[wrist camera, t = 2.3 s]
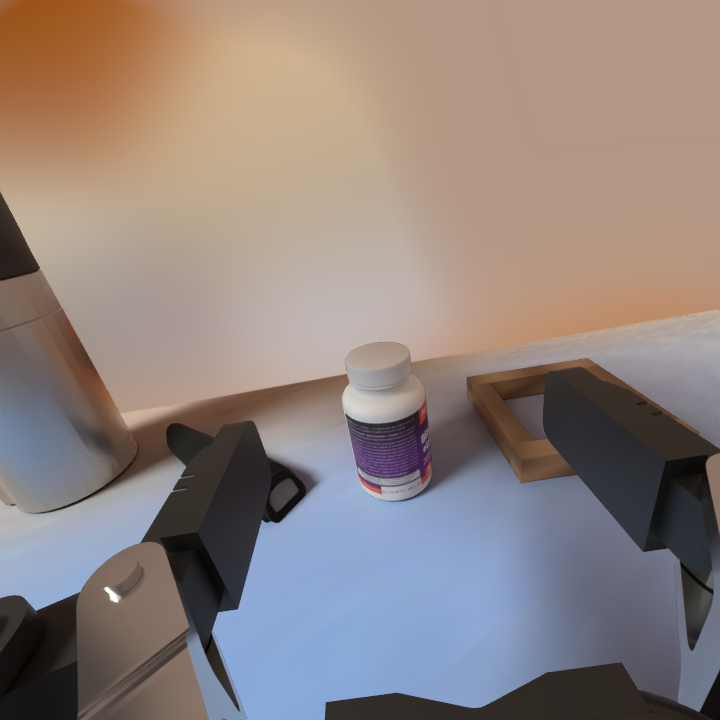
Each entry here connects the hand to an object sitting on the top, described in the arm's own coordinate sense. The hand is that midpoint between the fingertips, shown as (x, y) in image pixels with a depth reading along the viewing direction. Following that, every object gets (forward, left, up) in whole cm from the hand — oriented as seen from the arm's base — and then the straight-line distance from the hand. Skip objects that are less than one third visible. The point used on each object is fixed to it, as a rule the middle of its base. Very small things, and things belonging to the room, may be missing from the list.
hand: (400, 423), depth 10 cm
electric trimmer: (-14, +14, -13) cm, 24 cm away
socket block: (+13, +14, -13) cm, 23 cm away
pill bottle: (0, +11, -13) cm, 17 cm away
